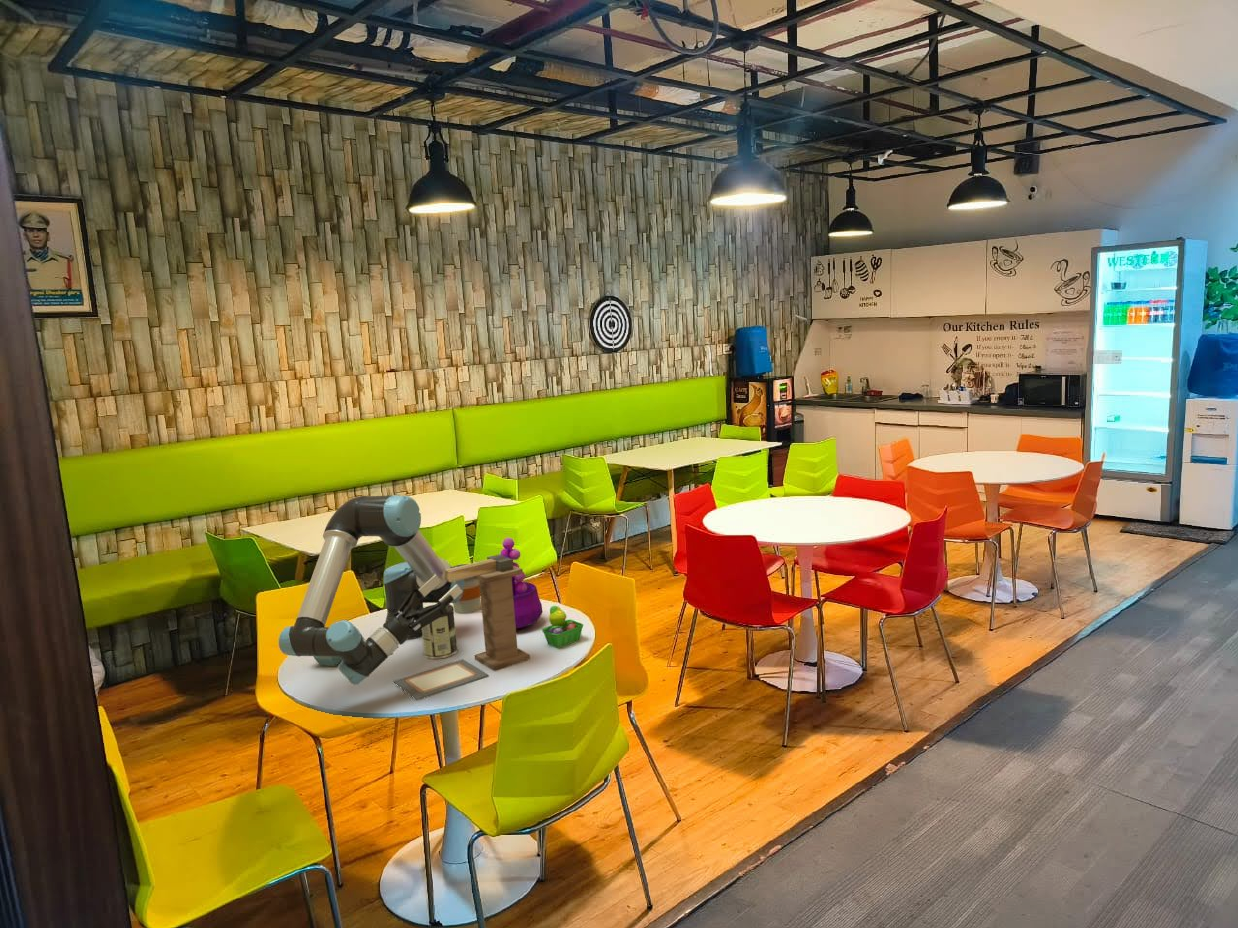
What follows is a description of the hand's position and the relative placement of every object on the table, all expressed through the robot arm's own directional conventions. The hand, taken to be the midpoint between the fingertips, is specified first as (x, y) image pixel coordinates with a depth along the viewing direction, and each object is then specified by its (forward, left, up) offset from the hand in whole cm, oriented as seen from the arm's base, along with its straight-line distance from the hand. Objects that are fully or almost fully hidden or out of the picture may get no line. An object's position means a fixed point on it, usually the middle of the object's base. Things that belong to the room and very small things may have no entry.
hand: (448, 582), depth 239 cm
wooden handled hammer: (-1, +9, 0) cm, 9 cm away
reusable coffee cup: (-50, +29, -28) cm, 64 cm away
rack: (-1, +15, -28) cm, 32 cm away
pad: (-1, -5, -28) cm, 28 cm away
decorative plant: (-24, +33, -28) cm, 49 cm away
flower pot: (-37, -24, -28) cm, 52 cm away
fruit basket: (+1, +36, -28) cm, 46 cm away
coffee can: (-20, +4, -28) cm, 34 cm away
